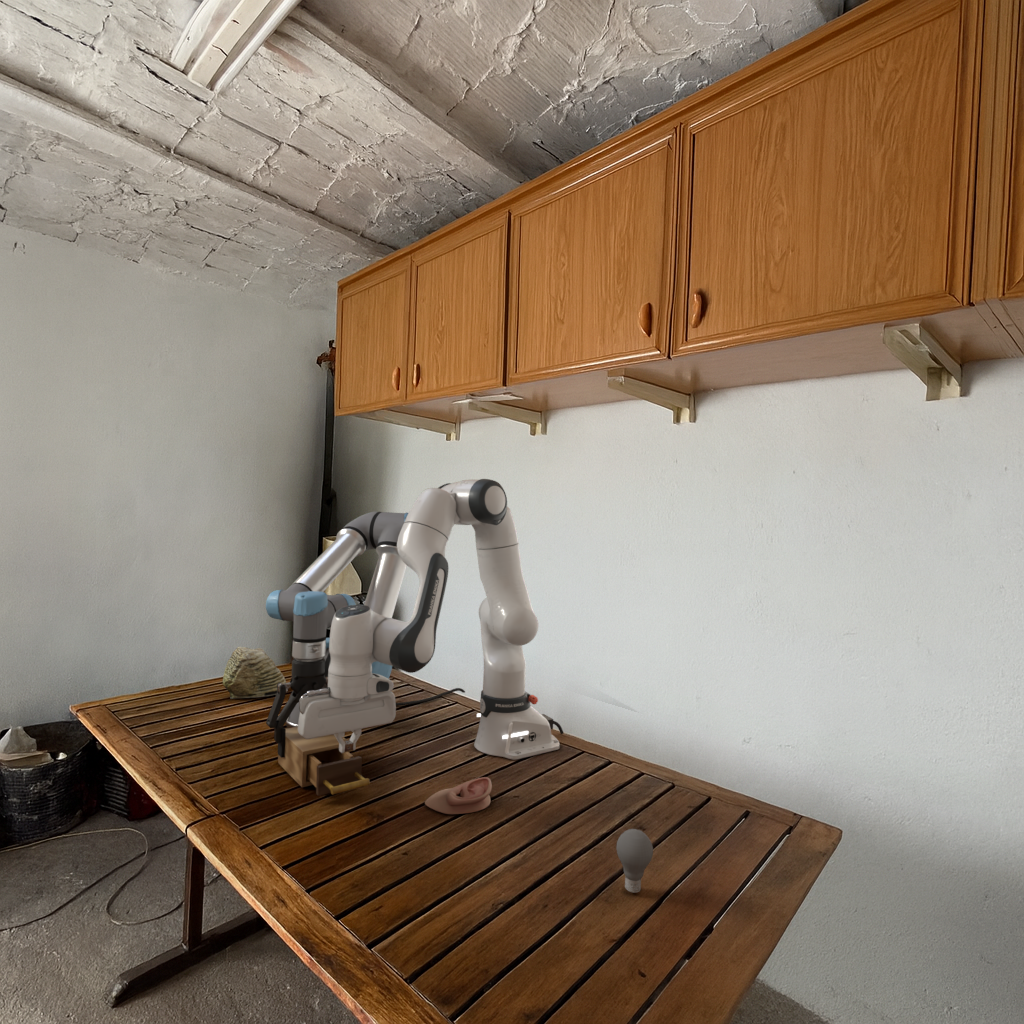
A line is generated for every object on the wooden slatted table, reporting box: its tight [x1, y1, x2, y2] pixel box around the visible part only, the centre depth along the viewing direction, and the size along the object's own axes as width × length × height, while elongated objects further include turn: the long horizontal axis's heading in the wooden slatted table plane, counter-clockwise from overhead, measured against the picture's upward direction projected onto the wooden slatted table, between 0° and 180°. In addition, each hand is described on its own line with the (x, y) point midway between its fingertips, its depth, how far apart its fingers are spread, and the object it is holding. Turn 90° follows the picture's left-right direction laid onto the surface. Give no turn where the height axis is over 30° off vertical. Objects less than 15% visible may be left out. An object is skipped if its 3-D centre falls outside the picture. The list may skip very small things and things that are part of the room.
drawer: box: [306, 748, 371, 797], centre depth 137 cm, size 21×10×6 cm, turn 38°
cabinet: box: [277, 727, 348, 788], centre depth 146 cm, size 16×11×8 cm, turn 38°
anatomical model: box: [424, 776, 493, 815], centre depth 134 cm, size 13×4×12 cm
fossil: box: [222, 646, 287, 699], centre depth 198 cm, size 9×18×15 cm, turn 132°
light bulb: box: [615, 828, 654, 894], centre depth 106 cm, size 6×6×10 cm
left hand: (305, 750), depth 150 cm, fingers closed on cabinet, 11 cm apart
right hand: (347, 750), depth 131 cm, fingers closed
